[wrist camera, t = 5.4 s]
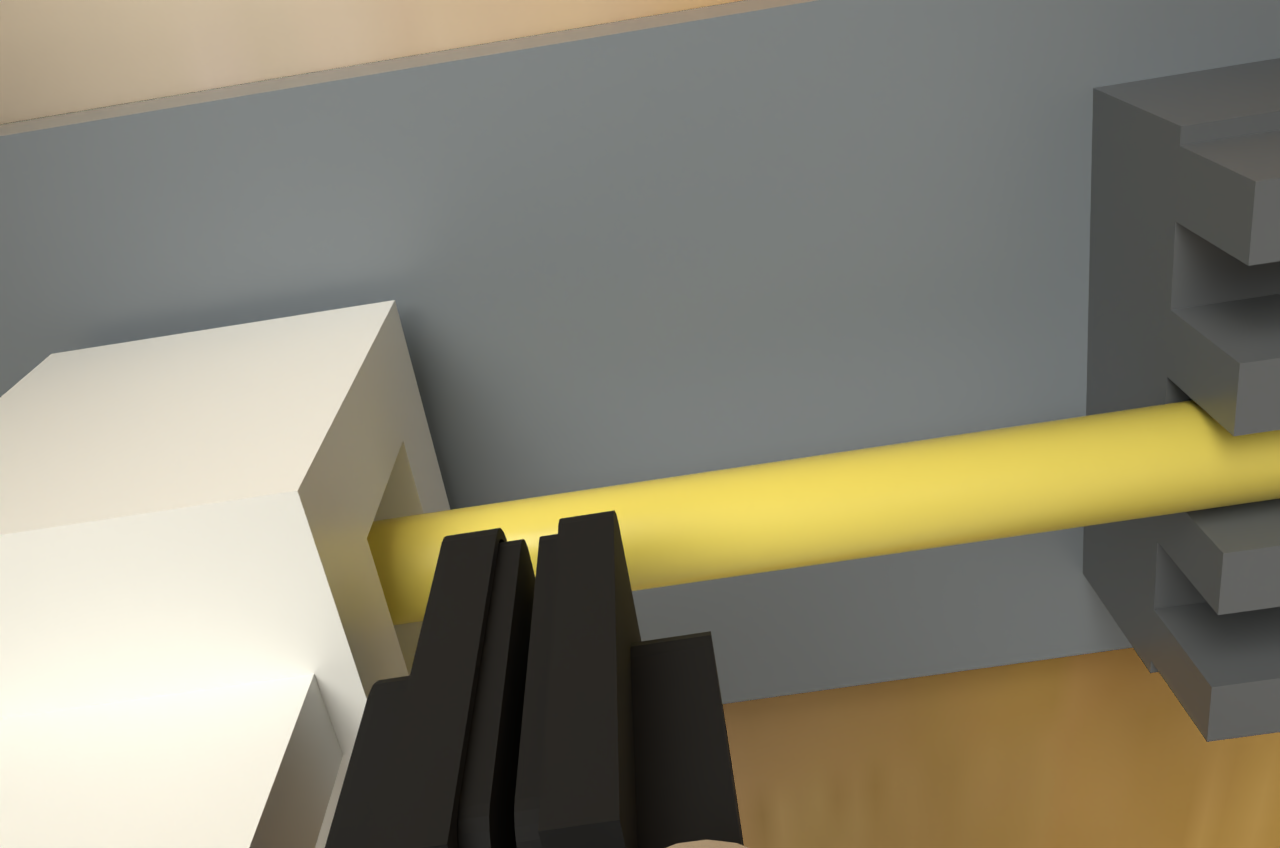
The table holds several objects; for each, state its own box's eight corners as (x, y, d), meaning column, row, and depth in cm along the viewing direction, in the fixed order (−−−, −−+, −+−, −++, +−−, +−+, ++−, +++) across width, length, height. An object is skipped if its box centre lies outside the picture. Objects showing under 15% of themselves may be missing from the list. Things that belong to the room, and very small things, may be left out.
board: (1347, -100, 14) (1706, -90, 9) (1271, 577, 18) (1491, 809, 14) (-647, 232, 15) (-1189, 386, 10) (-267, 793, 19) (-533, 1072, 15)
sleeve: (394, 300, 14) (205, 668, 7) (478, 616, 16) (388, 1120, 9) (51, 353, 14) (-424, 759, 8) (178, 658, 16) (-109, 1180, 10)
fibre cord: (1494, 335, 12) (1577, 379, 11) (1475, 431, 13) (1554, 482, 12) (-453, 624, 14) (-544, 690, 12) (-397, 702, 14) (-481, 771, 13)
